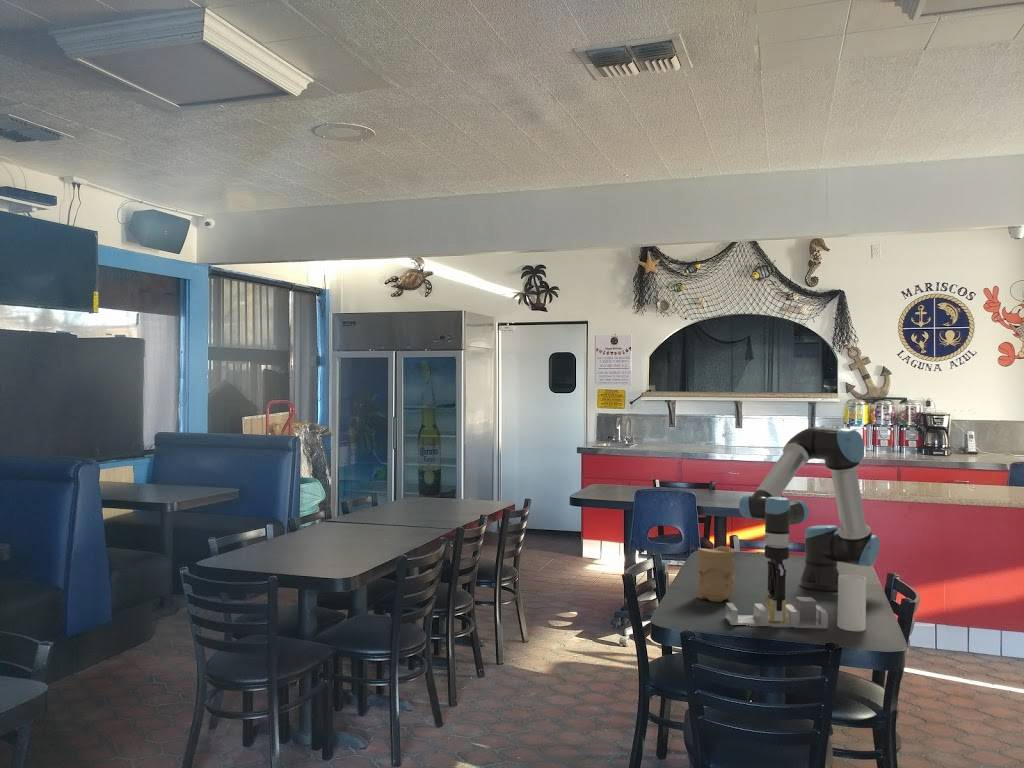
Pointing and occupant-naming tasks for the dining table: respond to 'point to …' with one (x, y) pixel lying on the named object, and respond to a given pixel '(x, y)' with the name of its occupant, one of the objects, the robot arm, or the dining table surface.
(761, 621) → the white slotted rack
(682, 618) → the dining table surface
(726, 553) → the container
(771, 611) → the tan wooden cube
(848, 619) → the cup
